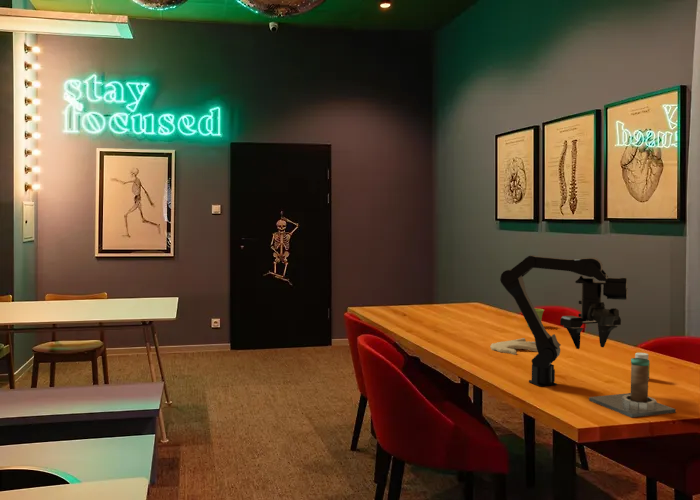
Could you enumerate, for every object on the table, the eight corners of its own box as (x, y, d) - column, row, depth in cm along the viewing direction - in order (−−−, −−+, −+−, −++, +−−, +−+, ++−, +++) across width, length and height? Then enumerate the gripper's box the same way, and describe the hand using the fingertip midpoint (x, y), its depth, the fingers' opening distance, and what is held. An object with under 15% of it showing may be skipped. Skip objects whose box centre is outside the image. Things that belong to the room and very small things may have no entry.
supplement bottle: (644, 376, 217) (645, 352, 217) (651, 380, 212) (652, 355, 212) (630, 377, 217) (631, 352, 217) (637, 380, 212) (638, 355, 212)
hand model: (488, 339, 271) (536, 334, 268) (489, 350, 271) (538, 345, 269) (493, 350, 252) (545, 345, 250) (494, 362, 253) (546, 357, 250)
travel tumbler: (632, 407, 178) (634, 361, 177) (627, 403, 182) (628, 357, 182) (650, 408, 177) (651, 361, 176) (644, 403, 182) (645, 358, 181)
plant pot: (520, 326, 320) (520, 308, 320) (534, 324, 324) (535, 307, 324) (532, 328, 312) (533, 311, 311) (547, 327, 316) (548, 310, 315)
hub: (631, 417, 172) (631, 406, 172) (589, 400, 188) (589, 390, 188) (675, 412, 177) (675, 401, 177) (630, 396, 193) (630, 386, 193)
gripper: (583, 302, 189) (582, 355, 190) (634, 300, 195) (633, 351, 196) (559, 298, 199) (558, 347, 200) (608, 296, 205) (607, 344, 206)
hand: (590, 348), depth 200 cm, fingers open, 9 cm apart
